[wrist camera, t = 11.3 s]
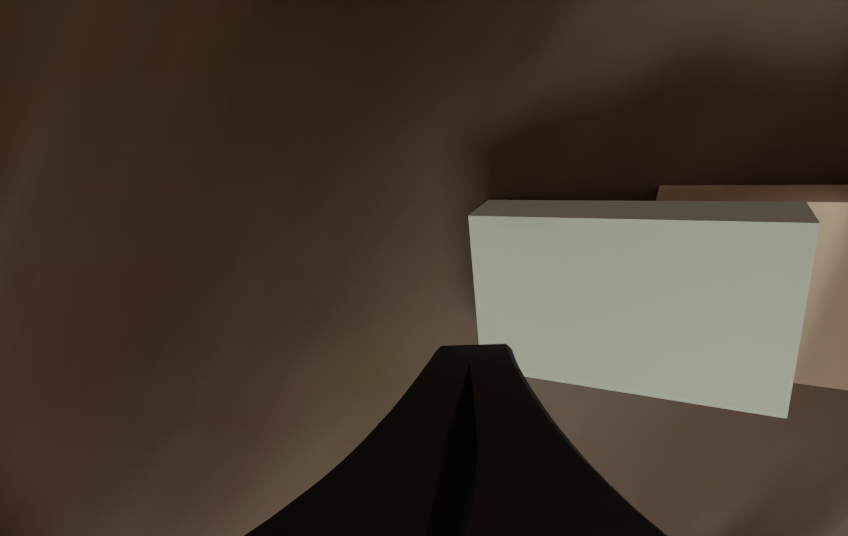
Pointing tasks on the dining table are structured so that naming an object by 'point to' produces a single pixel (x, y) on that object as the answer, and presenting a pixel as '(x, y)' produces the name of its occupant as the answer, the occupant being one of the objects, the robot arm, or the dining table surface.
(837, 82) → the dining table surface
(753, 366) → the sage domino
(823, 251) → the maple domino
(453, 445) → the robot arm
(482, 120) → the dining table surface
